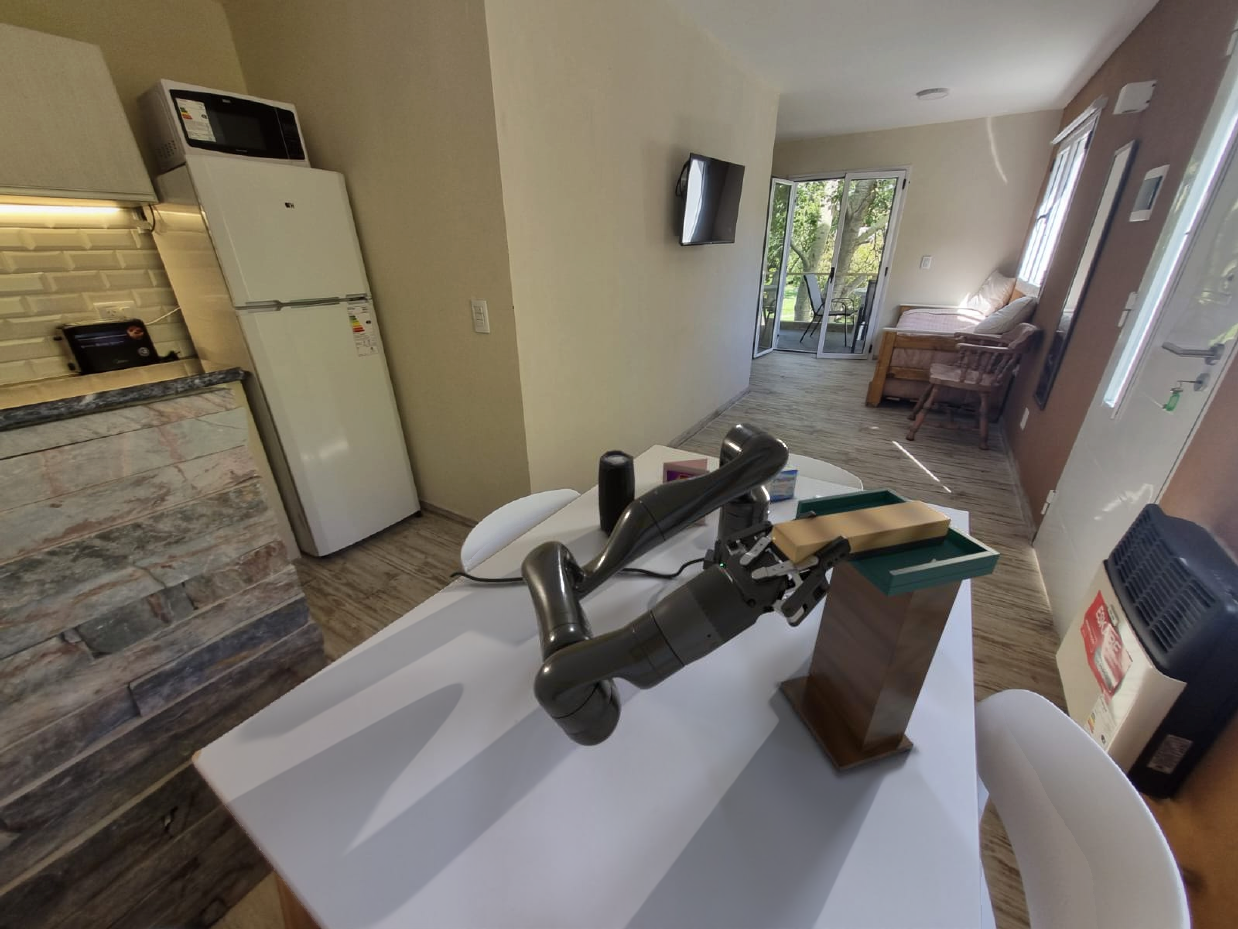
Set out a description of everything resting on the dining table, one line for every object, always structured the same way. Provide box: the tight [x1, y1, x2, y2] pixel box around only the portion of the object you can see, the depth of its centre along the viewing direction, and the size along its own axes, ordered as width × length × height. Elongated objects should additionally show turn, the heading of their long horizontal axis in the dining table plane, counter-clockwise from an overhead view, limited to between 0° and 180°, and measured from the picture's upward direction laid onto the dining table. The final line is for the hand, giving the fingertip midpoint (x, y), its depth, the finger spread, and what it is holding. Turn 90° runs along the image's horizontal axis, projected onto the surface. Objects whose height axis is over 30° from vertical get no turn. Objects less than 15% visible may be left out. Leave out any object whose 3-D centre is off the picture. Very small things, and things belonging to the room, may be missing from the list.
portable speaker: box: [597, 449, 636, 538], centre depth 113 cm, size 9×9×20 cm
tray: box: [795, 486, 1001, 597], centre depth 57 cm, size 14×16×3 cm
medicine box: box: [764, 463, 799, 502], centre depth 131 cm, size 8×4×9 cm, turn 105°
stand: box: [779, 563, 964, 773], centre depth 65 cm, size 12×14×31 cm
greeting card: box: [662, 458, 711, 526], centre depth 120 cm, size 11×7×15 cm, turn 67°
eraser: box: [771, 499, 952, 564], centre depth 54 cm, size 20×5×3 cm, turn 106°
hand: (830, 529), depth 53 cm, fingers closed on eraser, 4 cm apart
